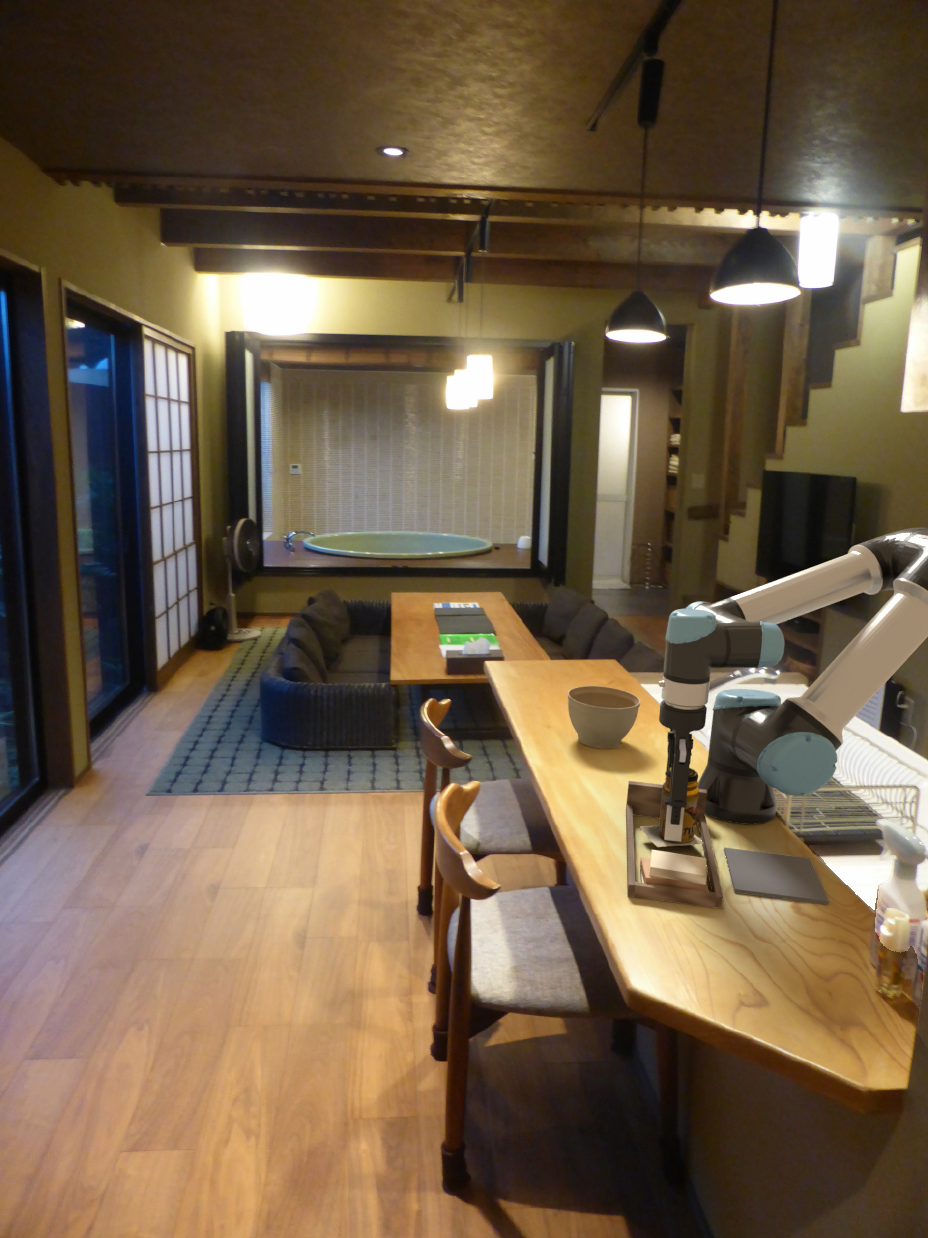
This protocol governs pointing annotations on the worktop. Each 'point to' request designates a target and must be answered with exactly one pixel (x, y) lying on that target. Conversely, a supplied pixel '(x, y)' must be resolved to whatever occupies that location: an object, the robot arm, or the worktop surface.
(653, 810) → the tray
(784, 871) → the slate mat
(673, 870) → the offcut stack
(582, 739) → the planter bowl
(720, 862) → the worktop surface
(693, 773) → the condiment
